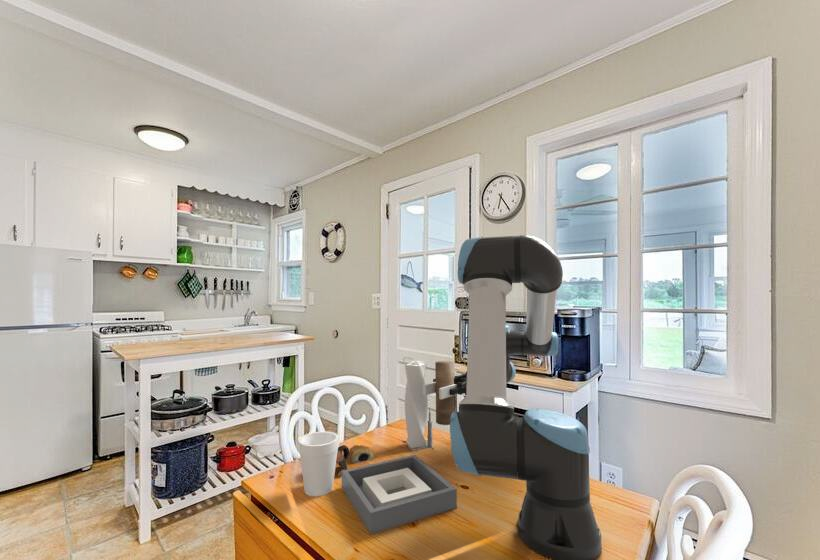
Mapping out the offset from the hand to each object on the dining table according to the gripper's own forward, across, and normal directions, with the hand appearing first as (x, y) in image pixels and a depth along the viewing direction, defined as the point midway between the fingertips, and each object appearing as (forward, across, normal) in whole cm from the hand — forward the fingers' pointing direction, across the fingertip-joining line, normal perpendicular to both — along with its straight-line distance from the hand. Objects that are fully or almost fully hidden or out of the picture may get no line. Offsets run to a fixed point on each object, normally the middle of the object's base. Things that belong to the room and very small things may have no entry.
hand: (432, 391), depth 98 cm
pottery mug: (+17, +21, -22) cm, 35 cm away
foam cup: (+25, +15, -22) cm, 36 cm away
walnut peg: (-5, 0, -9) cm, 10 cm away
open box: (+14, -1, -22) cm, 26 cm away
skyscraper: (-12, +17, -22) cm, 30 cm away
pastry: (+6, +23, -22) cm, 33 cm away
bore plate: (+14, -1, -21) cm, 26 cm away
